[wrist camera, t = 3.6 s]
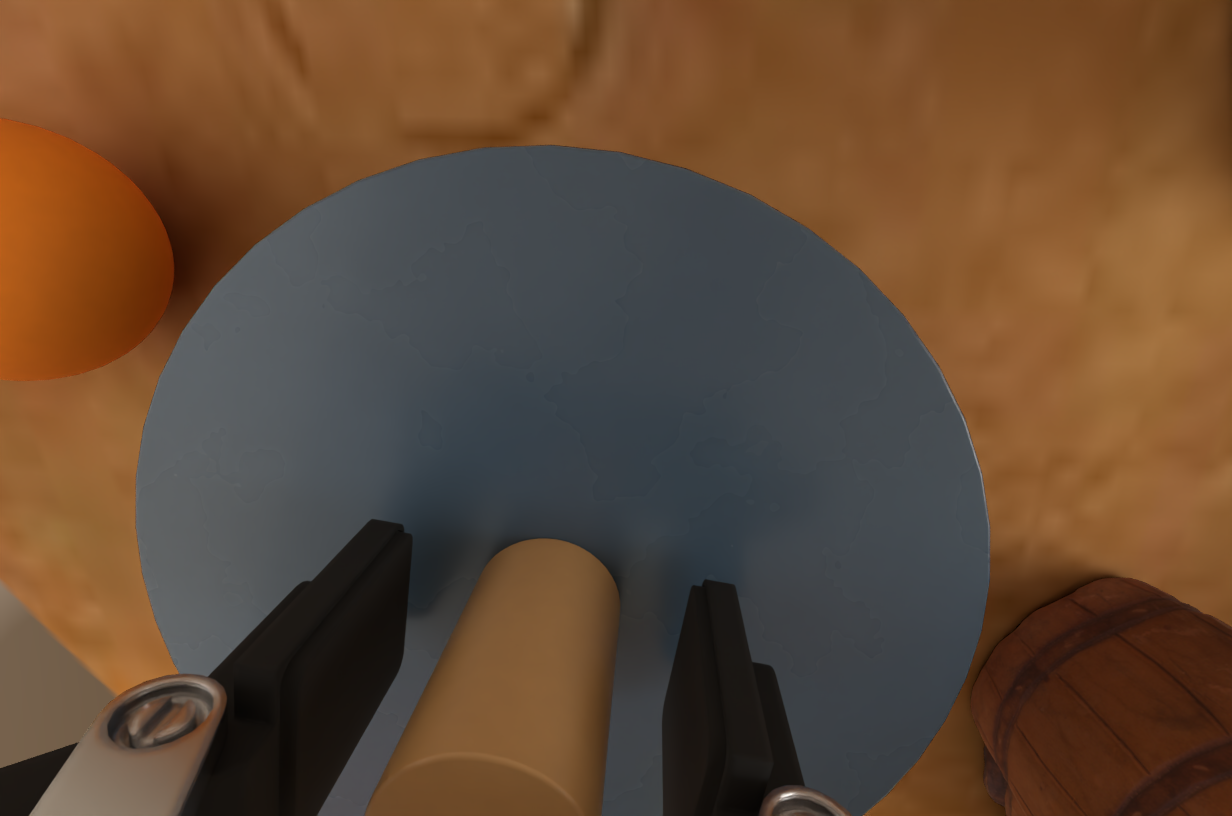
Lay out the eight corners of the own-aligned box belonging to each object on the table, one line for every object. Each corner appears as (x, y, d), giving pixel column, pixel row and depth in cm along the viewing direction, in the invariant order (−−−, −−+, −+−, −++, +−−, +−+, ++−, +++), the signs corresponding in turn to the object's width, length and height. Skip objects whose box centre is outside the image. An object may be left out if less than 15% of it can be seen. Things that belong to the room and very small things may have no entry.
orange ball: (223, 154, 17) (0, 121, 11) (227, 368, 19) (36, 435, 13) (6, 116, 17) (-328, 64, 11) (31, 333, 19) (-246, 384, 13)
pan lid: (1097, 241, 11) (1631, 267, 5) (836, 916, 15) (946, 1337, 10) (156, 76, 11) (-428, -90, 5) (189, 796, 16) (-89, 1139, 10)
